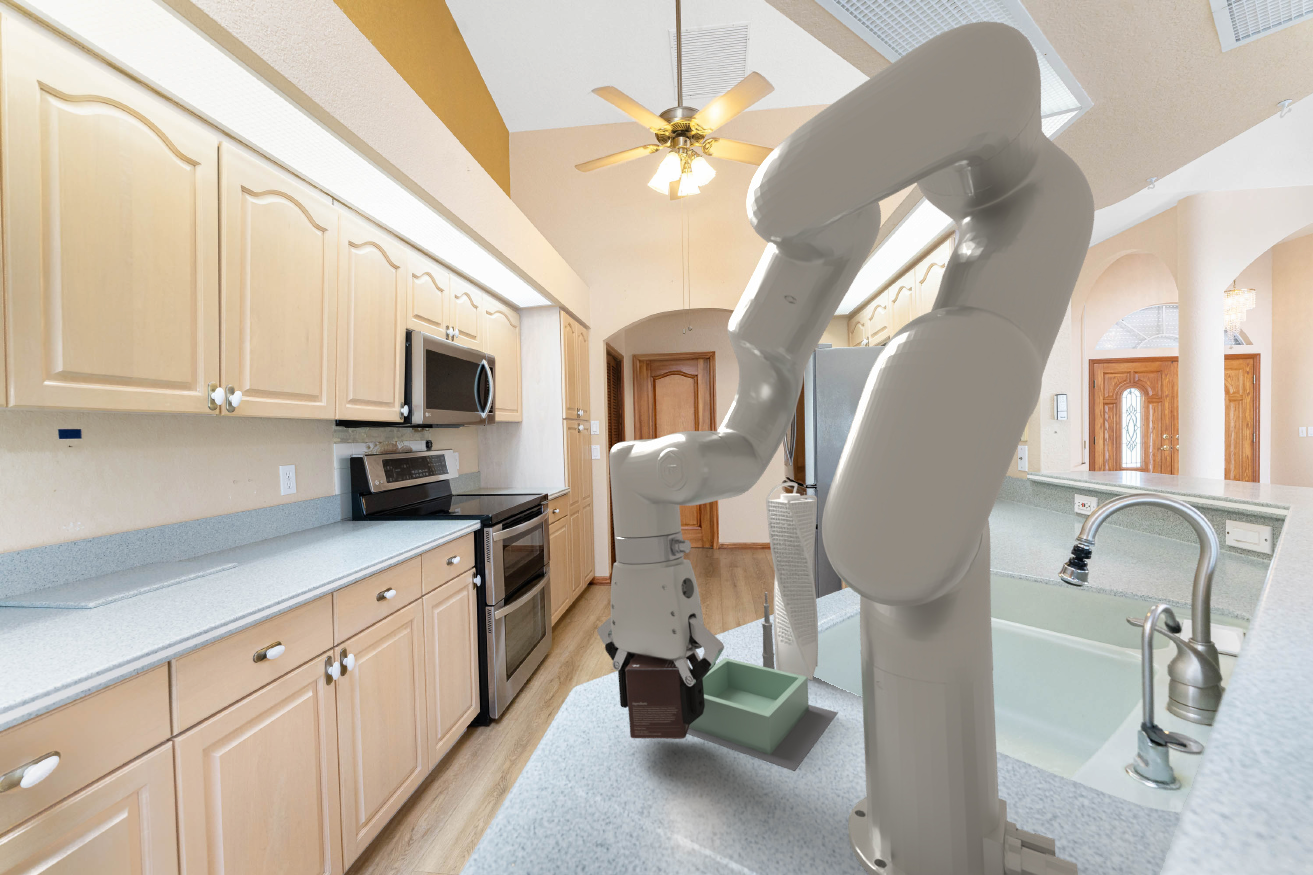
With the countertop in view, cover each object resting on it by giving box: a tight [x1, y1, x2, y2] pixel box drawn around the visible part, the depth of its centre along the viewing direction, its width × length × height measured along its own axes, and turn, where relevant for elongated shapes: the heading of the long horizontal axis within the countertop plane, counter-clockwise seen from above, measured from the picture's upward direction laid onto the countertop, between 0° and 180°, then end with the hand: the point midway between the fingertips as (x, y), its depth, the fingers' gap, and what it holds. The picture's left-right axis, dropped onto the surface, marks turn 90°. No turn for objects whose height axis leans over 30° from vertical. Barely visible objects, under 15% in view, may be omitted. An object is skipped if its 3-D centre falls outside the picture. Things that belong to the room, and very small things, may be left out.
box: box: [625, 654, 690, 740], centre depth 58 cm, size 6×6×7 cm
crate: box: [689, 657, 810, 755], centre depth 64 cm, size 12×12×4 cm
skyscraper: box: [761, 481, 819, 681], centre depth 77 cm, size 8×8×28 cm
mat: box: [687, 704, 839, 772], centre depth 64 cm, size 18×14×1 cm
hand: (661, 709), depth 58 cm, fingers closed on box, 7 cm apart
